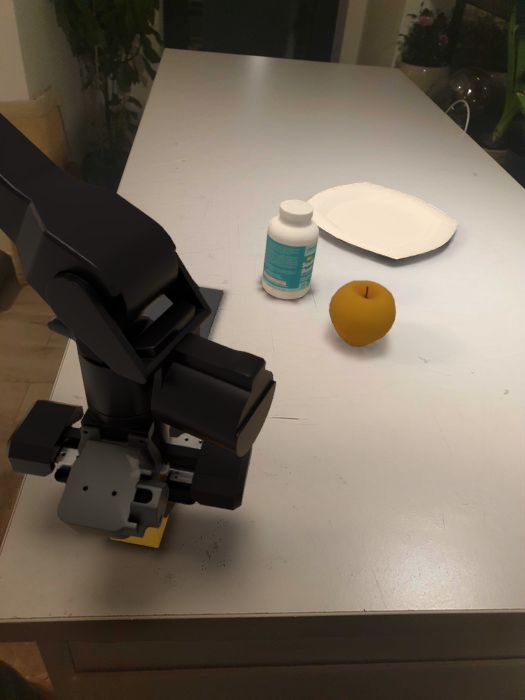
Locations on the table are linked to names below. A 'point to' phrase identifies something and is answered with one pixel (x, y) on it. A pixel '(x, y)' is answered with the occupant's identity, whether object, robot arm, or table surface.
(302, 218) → the pill bottle
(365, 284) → the apple
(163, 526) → the block
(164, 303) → the mat
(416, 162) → the table surface
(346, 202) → the plate
